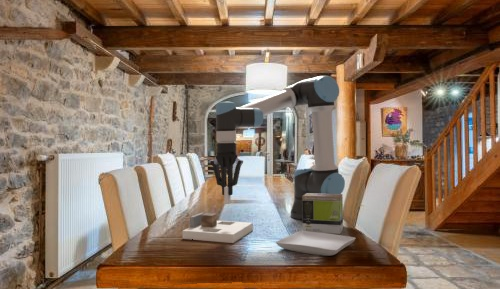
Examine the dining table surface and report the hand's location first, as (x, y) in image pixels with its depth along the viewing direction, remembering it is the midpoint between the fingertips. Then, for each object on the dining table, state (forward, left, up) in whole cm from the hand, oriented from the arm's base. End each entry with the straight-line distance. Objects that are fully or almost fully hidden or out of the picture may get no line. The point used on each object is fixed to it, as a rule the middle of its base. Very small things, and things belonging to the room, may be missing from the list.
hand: (227, 203), depth 157 cm
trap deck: (+3, 0, -12) cm, 12 cm away
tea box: (-34, -19, -12) cm, 40 cm away
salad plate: (-36, +8, -13) cm, 39 cm away
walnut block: (+7, +1, -9) cm, 12 cm away
